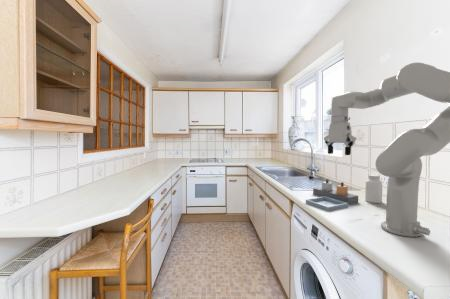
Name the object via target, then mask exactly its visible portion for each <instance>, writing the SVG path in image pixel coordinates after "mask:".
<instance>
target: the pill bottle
mask: <svg viewBox="0 0 450 299" xmlns="http://www.w3.org/2000/svg"><path fill="white" fill-rule="evenodd" d="M380 177H381V176H380V175H378V174H368V179H366V180H365V187H364V188H365V191H364V192H365V193H364V195H365V202H368V203H371V204H381V203H382V202H383V182H382V181H381V180H380Z"/></svg>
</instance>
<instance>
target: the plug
mask: <svg viewBox="0 0 450 299" xmlns="http://www.w3.org/2000/svg"><path fill="white" fill-rule="evenodd" d="M348 187H349V186H348V185H344V182H343V181H342V182H340V184H339V185H336V190H337V194H340V195H348V193H349V190H348V189H349V188H348Z"/></svg>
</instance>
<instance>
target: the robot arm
mask: <svg viewBox="0 0 450 299" xmlns="http://www.w3.org/2000/svg"><path fill="white" fill-rule="evenodd" d="M414 93H415V94H418V95H420V96H422V97H426V98H427V99H430V100H433V101H435V102H439V103H442V104H443V103H445V104H448V106H447V107H446V108H444V109H443V110H441V111H440V112H439V113H437V114H436V115H435V116H434V117H433V118H432V119H431V120H430V121H428V123H427V124H426V125H424V126H423V127H421V128H412V129H408V130H406V131H404V132H402V133H400V134H399V135H398V136H397V137H395V139H394V140H393V141H392V142H391V143H390V144H389V145H388V146H387V147H386V148H384V150H383V151H382V152H380V154H379V155H378V156H377V157H376V160H375V169H376V171H377V172H378V173H379V174H380V175H382V176H384V177H387V178H388V179H387V185H386V186H387V187H386V206H385V210H386V211H385V212H386V213H385V221H382V222H381V223H380V227H381V229H383V230H384V231H386V232H388V233H390V234H394V235H398V236H403V237H410V238H418V237H421V236H422V235H425V236H430V235H431V230H430V228H427V227H425V226H424V227H423V226H422V225H421V221H418V209H419V208H418V206H419V204H418V203H419V190H420V188H419V187H420V185H419V184H420V179H421V174H422V169H423V161H422V158H421V157H424V156H426V157H427V156H432V155H435V154H437V153H439V152H440V151H442V149H443V148H445V147H446V146H447V145H448V144H450V71H446V70H443V69H440V68H437V67H435V66H433V65H431V64H427V63H424V62H412V63H409V64H406V65H404V66H403V67H402V68H400V70H399V71H398V72H397V74H396V75H393V76H391V77H390V76H389V77H387V78H385V79H383V80H382V81H381V83H380V87H379V88H375V89H373V90H370V91H368V92H361V91H360V92H359V91H347V92H345V93H343V94H336V95H333V96H332V97H331V104H330V105H331V113H330V114H331V115H330V116H331V118H330V124H329V129H328V134H327V135H326V136H325V137H323V140H324V143H325V145H326V147H327V154H328V155H331V154H332V155H333V154H334V146H333V145H334V144H335V143H336V144H344V145H345V147H344V155H345V156H350V155H351V153H352V147H353V145H355V142H356V140H357V137H356V136H354V135H353V134H352V127H351V123H350V122H349V121H350V120H351V117H349V109H358V110H365V109H369V108H374V107H376V106H380V105H382V104H385V103H386V102H388V101H390V100H393V99H396V98H401V97H403V96H407V95H410V94H414Z"/></svg>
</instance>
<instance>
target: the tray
mask: <svg viewBox="0 0 450 299" xmlns="http://www.w3.org/2000/svg"><path fill="white" fill-rule="evenodd" d="M305 204H307V205H310V206H313V207H316V208H319V209H321V210H324V211H327V212H330V211H335V210H338V209H344V208H348V207H349V204H348V203H346V202H342V201H339V200H335V199H332V198H329V197H325V196H324V197H322V196H320V197H319V196H318V197H313V198H307V199H305Z"/></svg>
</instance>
